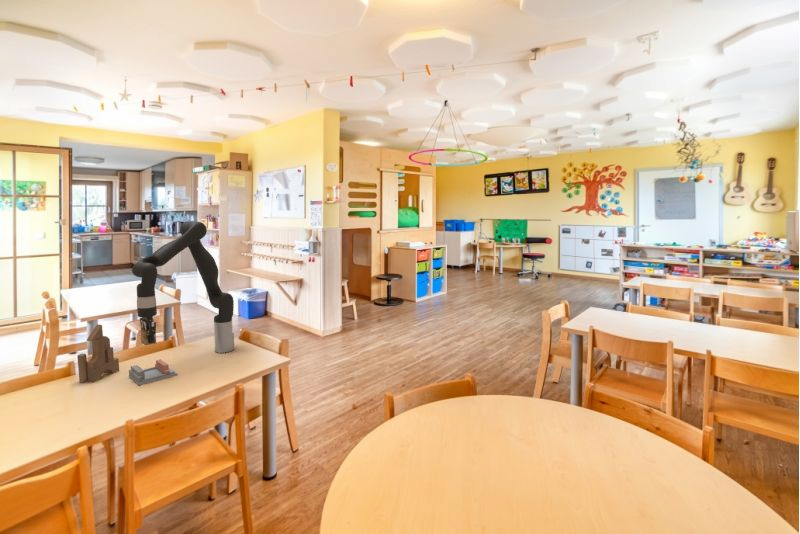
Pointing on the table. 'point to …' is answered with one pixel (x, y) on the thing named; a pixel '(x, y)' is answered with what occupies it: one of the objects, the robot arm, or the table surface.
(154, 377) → the vise base
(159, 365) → the bar
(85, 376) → the wooden toy
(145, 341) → the walnut block
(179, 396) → the table surface
